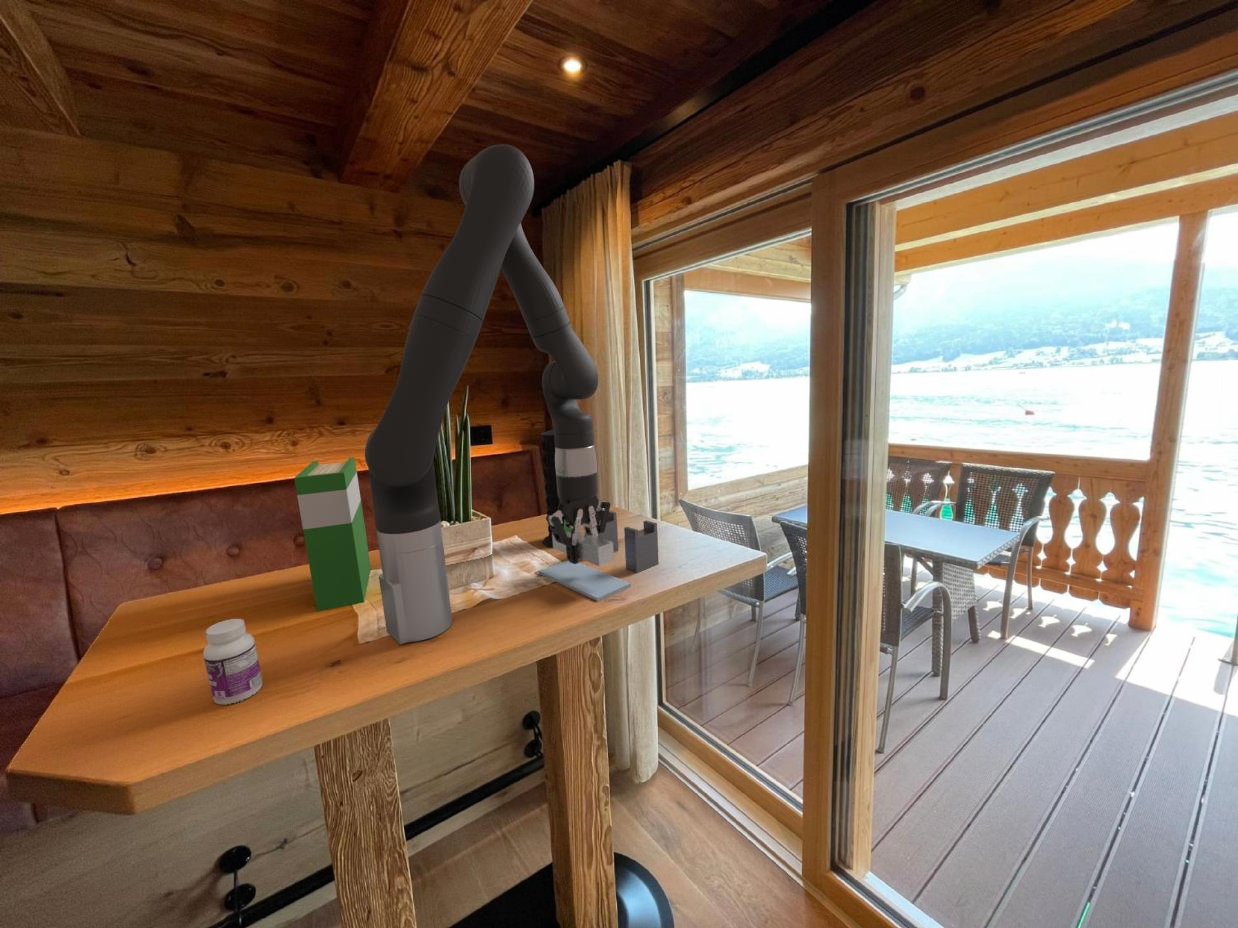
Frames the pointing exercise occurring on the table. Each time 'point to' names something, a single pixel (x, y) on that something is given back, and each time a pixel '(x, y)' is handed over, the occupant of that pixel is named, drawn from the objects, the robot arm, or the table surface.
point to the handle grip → (550, 480)
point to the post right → (641, 547)
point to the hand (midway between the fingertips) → (582, 559)
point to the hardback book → (334, 533)
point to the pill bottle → (231, 662)
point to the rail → (590, 549)
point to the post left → (611, 530)
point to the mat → (585, 580)
